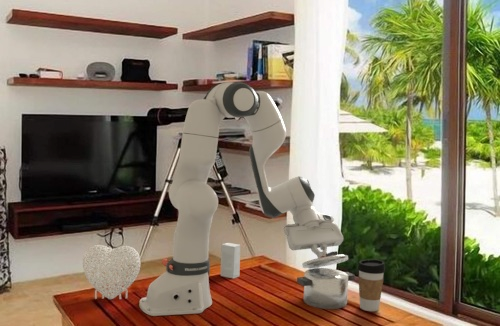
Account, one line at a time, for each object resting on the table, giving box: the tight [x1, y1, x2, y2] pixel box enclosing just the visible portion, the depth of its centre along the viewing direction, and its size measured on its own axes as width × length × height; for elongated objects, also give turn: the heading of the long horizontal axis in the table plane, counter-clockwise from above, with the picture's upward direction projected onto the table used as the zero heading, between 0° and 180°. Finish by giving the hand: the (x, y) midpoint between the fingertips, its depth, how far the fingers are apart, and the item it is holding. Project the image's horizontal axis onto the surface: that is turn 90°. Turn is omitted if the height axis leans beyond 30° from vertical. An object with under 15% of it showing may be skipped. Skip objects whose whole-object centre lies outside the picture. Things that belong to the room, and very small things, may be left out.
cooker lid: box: [302, 251, 349, 269], centre depth 167 cm, size 15×16×2 cm
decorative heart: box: [82, 244, 142, 300], centre depth 161 cm, size 18×11×17 cm, turn 90°
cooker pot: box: [296, 267, 356, 310], centre depth 166 cm, size 20×14×9 cm
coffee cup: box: [357, 259, 386, 312], centre depth 161 cm, size 8×8×15 cm
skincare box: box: [220, 242, 241, 280], centre depth 189 cm, size 6×4×12 cm
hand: (323, 257), depth 168 cm, fingers closed, pressing on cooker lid
